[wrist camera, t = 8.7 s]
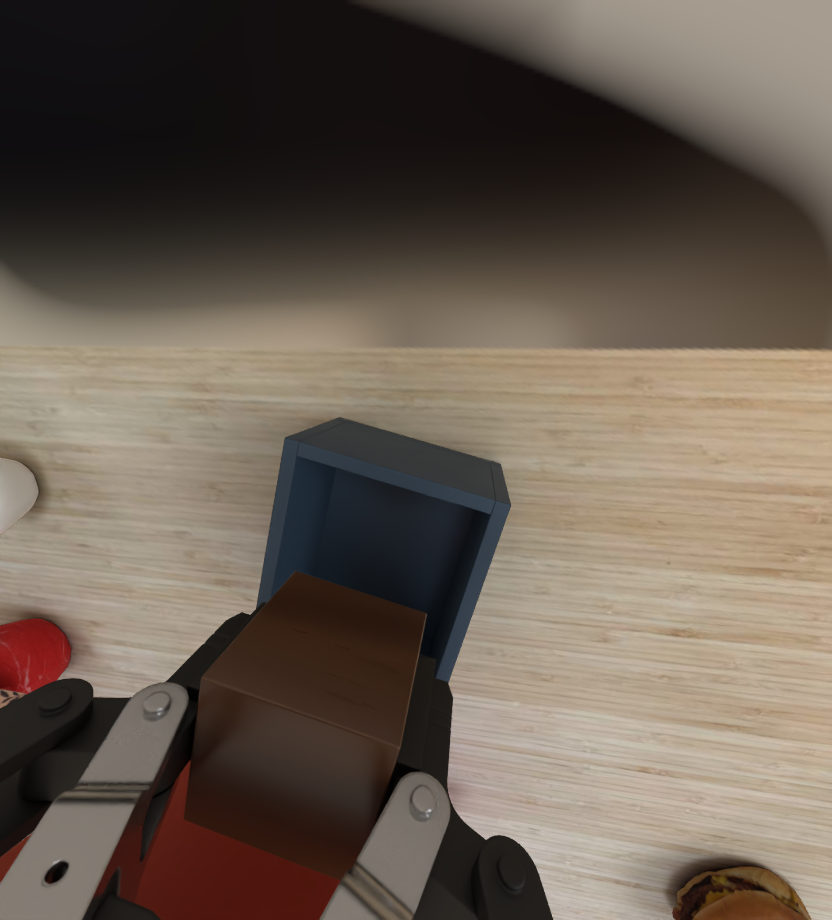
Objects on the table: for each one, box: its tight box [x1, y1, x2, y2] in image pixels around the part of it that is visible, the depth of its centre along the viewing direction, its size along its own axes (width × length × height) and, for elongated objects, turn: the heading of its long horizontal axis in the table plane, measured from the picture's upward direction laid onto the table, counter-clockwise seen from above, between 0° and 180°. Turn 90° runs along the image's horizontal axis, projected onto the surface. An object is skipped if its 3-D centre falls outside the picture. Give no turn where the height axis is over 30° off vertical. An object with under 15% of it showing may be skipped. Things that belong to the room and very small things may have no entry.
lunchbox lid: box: [0, 760, 340, 920], centre depth 15 cm, size 16×12×5 cm
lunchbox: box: [256, 417, 511, 682], centre depth 26 cm, size 16×12×8 cm
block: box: [183, 571, 427, 881], centre depth 11 cm, size 4×4×4 cm
